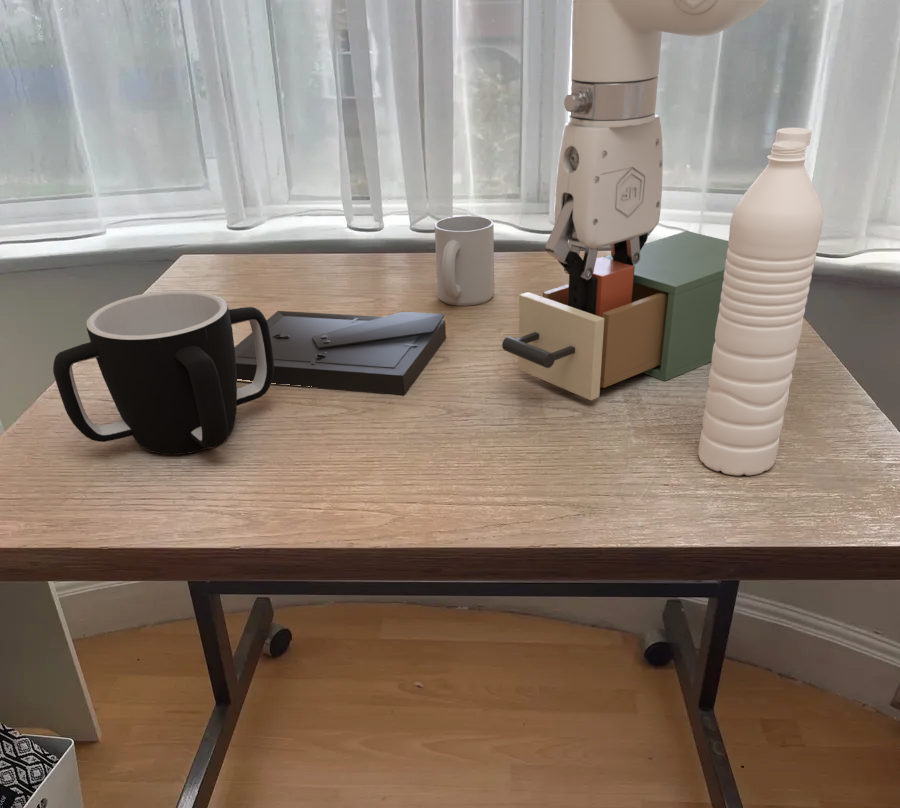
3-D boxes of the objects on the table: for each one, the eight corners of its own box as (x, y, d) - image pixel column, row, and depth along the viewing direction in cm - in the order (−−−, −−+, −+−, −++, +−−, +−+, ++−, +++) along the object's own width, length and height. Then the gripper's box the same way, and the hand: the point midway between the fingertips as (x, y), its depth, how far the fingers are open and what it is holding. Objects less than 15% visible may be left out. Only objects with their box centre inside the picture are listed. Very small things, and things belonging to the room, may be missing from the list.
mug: (300, 408, 90) (281, 287, 83) (220, 487, 78) (191, 353, 71) (158, 393, 94) (129, 277, 87) (62, 465, 82) (19, 338, 75)
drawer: (559, 413, 85) (562, 333, 80) (487, 381, 91) (486, 304, 86) (689, 360, 94) (698, 284, 89) (615, 333, 100) (620, 262, 95)
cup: (502, 290, 116) (501, 217, 111) (474, 316, 109) (473, 240, 103) (450, 285, 118) (447, 214, 113) (420, 311, 111) (415, 236, 106)
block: (631, 311, 89) (634, 265, 86) (599, 322, 87) (602, 276, 84) (598, 300, 92) (601, 256, 89) (567, 311, 90) (569, 266, 87)
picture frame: (446, 338, 103) (280, 327, 108) (444, 314, 102) (276, 304, 107) (404, 395, 91) (220, 380, 96) (402, 368, 90) (215, 355, 95)
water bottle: (771, 482, 75) (837, 152, 60) (692, 471, 77) (736, 149, 62) (780, 436, 81) (841, 128, 66) (706, 427, 83) (750, 126, 68)
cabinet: (665, 381, 92) (675, 286, 86) (583, 350, 99) (588, 261, 93) (759, 341, 99) (774, 251, 93) (676, 315, 106) (686, 230, 101)
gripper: (573, 120, 72) (565, 342, 83) (709, 92, 80) (685, 298, 91) (510, 110, 76) (511, 322, 87) (644, 85, 85) (629, 281, 96)
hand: (599, 308), depth 89 cm, fingers closed on block, 4 cm apart
